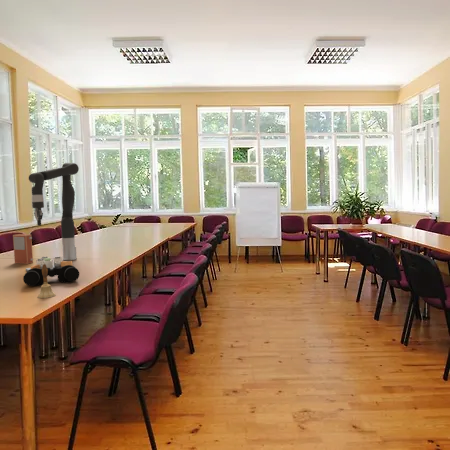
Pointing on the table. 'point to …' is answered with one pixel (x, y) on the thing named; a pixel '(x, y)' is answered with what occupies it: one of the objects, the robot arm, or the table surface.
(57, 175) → the robot arm
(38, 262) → the knob
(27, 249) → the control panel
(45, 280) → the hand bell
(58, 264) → the knob
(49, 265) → the levelling plate
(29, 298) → the table surface
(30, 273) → the binoculars
